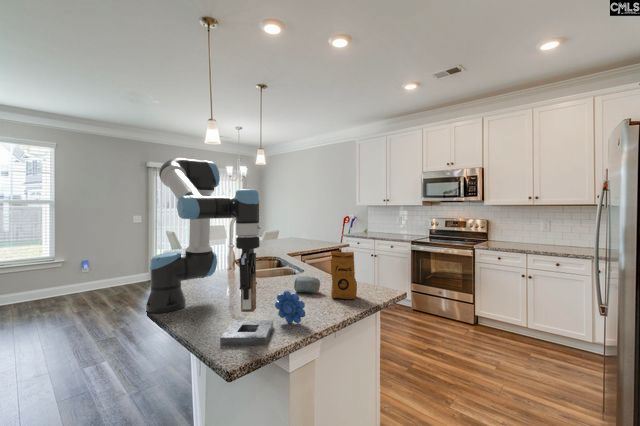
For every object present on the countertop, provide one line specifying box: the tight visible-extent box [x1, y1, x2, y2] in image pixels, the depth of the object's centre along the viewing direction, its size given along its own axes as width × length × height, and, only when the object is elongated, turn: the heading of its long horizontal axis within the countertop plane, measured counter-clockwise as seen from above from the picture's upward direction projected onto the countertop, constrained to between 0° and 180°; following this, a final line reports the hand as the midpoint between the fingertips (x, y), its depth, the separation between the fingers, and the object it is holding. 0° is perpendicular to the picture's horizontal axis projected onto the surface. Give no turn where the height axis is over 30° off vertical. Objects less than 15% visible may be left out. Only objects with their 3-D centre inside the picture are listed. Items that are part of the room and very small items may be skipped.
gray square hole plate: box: [219, 319, 274, 347], centre depth 97 cm, size 14×14×2 cm
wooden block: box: [240, 271, 257, 313], centre depth 96 cm, size 4×4×12 cm
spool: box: [293, 275, 321, 295], centre depth 147 cm, size 14×10×10 cm
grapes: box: [274, 290, 306, 324], centre depth 106 cm, size 12×7×12 cm, turn 79°
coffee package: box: [330, 251, 358, 300], centre depth 138 cm, size 10×12×22 cm
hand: (248, 306), depth 96 cm, fingers closed on wooden block, 4 cm apart
